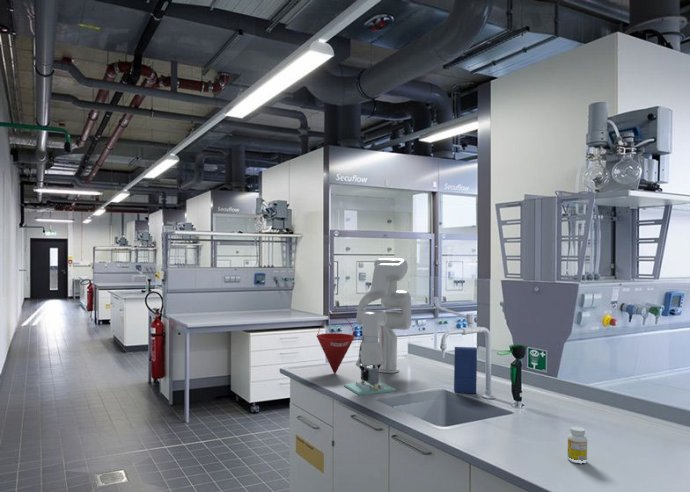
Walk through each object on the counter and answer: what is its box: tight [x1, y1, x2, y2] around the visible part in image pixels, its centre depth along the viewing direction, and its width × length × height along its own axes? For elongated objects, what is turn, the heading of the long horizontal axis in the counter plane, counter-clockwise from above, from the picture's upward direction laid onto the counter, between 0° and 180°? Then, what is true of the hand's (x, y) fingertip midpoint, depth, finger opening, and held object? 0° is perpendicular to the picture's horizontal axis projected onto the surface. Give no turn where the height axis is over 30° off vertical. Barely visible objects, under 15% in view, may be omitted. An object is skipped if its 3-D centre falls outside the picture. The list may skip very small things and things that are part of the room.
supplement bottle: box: [567, 426, 588, 461], centre depth 152 cm, size 5×5×10 cm
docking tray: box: [343, 378, 396, 396], centre depth 231 cm, size 16×18×4 cm
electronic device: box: [453, 346, 478, 395], centre depth 229 cm, size 10×5×20 cm, turn 84°
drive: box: [360, 365, 380, 384], centre depth 231 cm, size 10×4×6 cm, turn 24°
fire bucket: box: [316, 314, 356, 374], centre depth 260 cm, size 22×20×30 cm
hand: (369, 379), depth 231 cm, fingers closed on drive, 4 cm apart
